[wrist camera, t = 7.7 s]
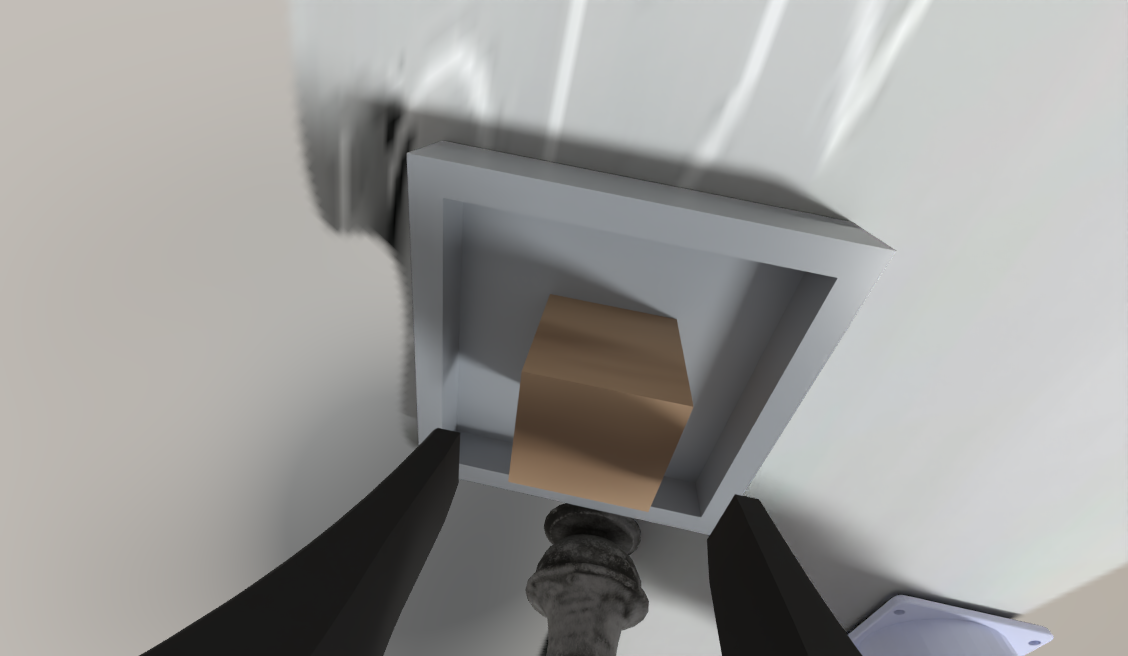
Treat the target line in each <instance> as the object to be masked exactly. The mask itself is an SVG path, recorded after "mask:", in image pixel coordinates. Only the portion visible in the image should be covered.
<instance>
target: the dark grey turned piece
mask: <svg viewBox="0 0 1128 656" xmlns="http://www.w3.org/2000/svg"><path fill="white" fill-rule="evenodd" d="M544 529H545V534H546V536H547V538H548V539H549V541H550V542H551V543H552V544H553V545H552V546H550V548H549V549H548V550H547V551H546V552H545V554H544V555H543V557H542V559H541V560H540V562H539V563H538V566H537V570H536V572H535V573H534V574H533V575H532V577H530V579H529V580H528V582H527V587H526V594H527V598H528V601H529V602H530V603H531V605H532V606H533V608H534V609H535V610H536V611H538V612H539V613H540V614H541V615H542V616H544V617H546V618H547V619H548V634H549V642H548V649H547V656H616V652H617V647H618V642H619V638H620V634H621V630H625V629H628V628H631V627H633V626H635V625H637V624H638V623H639V622H641V621H642V620H643V619H644V618H645V616H646V614H647V613H648V606H649V601H648V598H647V596H646V594H645V592H644V591H643V589H642V588H641V580H640V578H639V575H638V573H637V570H636V568H635V565H634V563H633V561H632V559H631V558H630V557H629V556H628V555H630V554H631V553H632V552H633V551H635V550H636V549H637V547H638V545H639V543H640V529H639V527H638V524H637V523H636V522H635V521H634V519H633V518H631V517H626V516H622V515H617V514H613V513H608V512H604V511H599V510H595V509H591V508H586V507H582V506H577V505H573V504H568V503H565V504H562V505H559V506H558V507H556V508H555V509H553V510H552V511H551V512H550V513H549V514H548V516H547V517H546V520H545V524H544Z"/></svg>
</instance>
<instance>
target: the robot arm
mask: <svg viewBox="0 0 1128 656" xmlns="http://www.w3.org/2000/svg"><path fill="white" fill-rule="evenodd" d="M459 456H460V433H459V432H455V431H450V430H446V429H441V428H436V429H434V430H433V431H432V432H431V433H430V434H429V436H428V437H427V438H426V439H425V440H424V441H423V442H422V443H421V444H420V445H419V446H418V447H417V448H416V449H415V450H414V451H413V452H412V453H411V454H410V455H409V456H408V457H407V458H406V460H404V461H403V462H402V463H401V464H400V465H399V466H398V468H396V469H395V470H394V471H393V472H392V473H391V474H390V475H389V476H388V477H387V478H386V479H385V480H383V481H382V482H381V484H379V485H378V486H377V487H376V488H375V489H374V490H373V491H372V492H371V493H370V494H368V495H367V496H366V497H365V498H364V499H363V500H361V501H360V502H359V503H358V504H357V505H356V506H354V507H353V508H352V509H351V510H350V511H349V512H347V513H346V514H345V515H344V516H343V517H342V518H341V519H339V520H338V521H337V522H336V523H335V524H333V525H332V526H331V527H330V528H328V529H327V530H326V531H325V532H323V533H322V534H321V535H320V536H318V537H317V538H316V539H314V540H313V541H312V542H311V543H310V544H308V545H307V546H305V547H304V548H303V549H301V550H300V551H299V552H298V553H296V554H295V555H293V556H292V557H291V558H289V559H288V560H287V561H285V562H284V563H283V564H281V565H280V566H278V567H277V568H276V569H274V570H272V571H271V572H270V573H268V574H267V575H265V576H264V577H263V578H261V579H260V580H258V581H257V582H255V583H254V584H253V585H251V586H250V587H248V588H247V589H245V590H244V591H242V592H241V593H239V594H238V595H237V596H235V597H233V598H232V599H230V600H229V601H227V602H226V603H224V604H223V605H221V606H219V607H218V608H216V609H215V610H213V611H211V612H210V613H208V614H207V615H205V616H203V617H202V618H200V619H199V620H197V621H196V622H194V623H192V624H191V625H189V626H187V627H186V628H185V629H183V630H181V631H180V632H178V633H176V634H175V635H173V636H172V637H170V638H169V639H167V640H165V641H163V642H162V643H160V644H158V645H157V646H155V647H153V648H152V649H150V650H148V651H147V652H145V653H143V654H141V655H140V656H383V655H384V652H385V650H386V647H387V645H388V642H389V639H390V637H391V634H392V632H393V629H394V627H395V625H396V623H397V620H398V618H399V616H400V613H401V611H402V609H403V607H404V605H405V603H406V601H407V599H408V597H409V594H410V593H411V590H412V588H413V586H414V584H415V582H416V580H417V578H418V576H419V574H420V572H421V570H422V568H423V566H424V564H425V561H426V559H427V557H428V555H429V553H430V551H431V549H432V547H433V545H434V543H435V541H436V539H437V536H438V534H439V532H440V530H441V528H442V526H443V524H444V522H445V519H446V516H447V513H448V511H449V508H450V505H451V503H452V500H453V497H454V494H455V491H456V488H457V486H458V482H459ZM707 546H708V566H709V580H710V588H711V594H712V600H713V606H714V612H715V618H716V624H717V629H718V635H719V641H720V646H721V652H722V656H1024V655H1026V654H1028V653H1030V652H1031V651H1033V650H1035V649H1037V648H1039V647H1040V646H1042V645H1044V644H1046V643H1048V642H1050V641H1051V640H1052V639H1053V637H1054V636H1053V635H1052V634H1051V632H1050V631H1049V630H1048V628H1046V627H1043V626H1039V625H1035V624H1030V623H1026V622H1022V621H1017V620H1013V619H1008V618H1004V617H999V616H995V615H991V614H986V613H982V612H977V611H973V610H968V609H964V608H959V607H955V606H951V605H946V604H942V603H937V602H933V601H928V600H924V599H919V598H915V597H911V596H906V595H898V596H894V597H893V598H891V599H890V600H889V601H888V602H887V603H885V604H884V605H883V606H882V607H881V608H879V609H878V610H877V611H876V612H875V613H873V614H872V615H871V616H870V617H869V618H867V619H866V620H865V621H864V622H863V623H861V624H860V625H859V626H858V627H857V628H855V629H854V630H853V631H852V632H851V633H849V634H848V635H847V634H846V632H845V631H844V629H843V628H842V627H841V625H840V624H839V622H838V621H837V620H836V618H835V617H834V615H833V614H832V612H831V611H830V609H829V608H828V607H827V605H826V604H825V602H824V601H823V599H822V598H821V596H820V595H819V593H818V592H817V590H816V589H815V587H814V586H813V584H812V583H811V581H810V580H809V578H808V577H807V575H806V573H805V572H804V570H803V569H802V567H801V566H800V564H799V563H798V561H797V559H796V558H795V556H794V555H793V553H792V552H791V550H790V548H789V547H788V545H787V544H786V542H785V540H784V539H783V537H782V536H781V534H780V532H779V531H778V529H777V528H776V526H775V524H774V523H773V521H772V520H771V518H770V516H769V515H768V513H767V512H766V510H765V508H764V507H763V505H762V504H761V502H760V500H759V499H755V498H750V497H746V496H741V495H737V494H735V495H734V496H733V498H732V500H731V501H730V503H729V505H728V506H727V508H726V510H725V511H724V513H723V515H722V516H721V518H720V519H719V521H718V523H717V524H716V526H715V528H714V529H713V531H712V533H711V534H710V536H709V538H708V539H707Z"/></svg>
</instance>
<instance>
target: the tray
mask: <svg viewBox="0 0 1128 656" xmlns="http://www.w3.org/2000/svg"><path fill="white" fill-rule="evenodd" d="M407 174H408V198H409V223H410V247H411V271H412V296H413V320H414V345H415V369H416V394H417V418H418V443H419V445H420V444H421V443H422V442H423V441H424V440H425V439H426V438H427V437H428V436H429V434H430V433H431V432H432V431H433V430H434V429H436V428H441V429H446V430H450V431H455V432H459V433H460V456H459V479H461V480H466V481H470V482H474V483H479V484H483V485H488V486H493V487H497V488H501V489H506V490H510V491H515V492H519V493H524V494H528V495H532V496H537V497H542V498H546V499H550V500H555V501H559V502H564V503H568V504H573V505H577V506H582V507H586V508H591V509H595V510H599V511H604V512H608V513H613V514H617V515H622V516H626V517H631V518H635V519H640V520H644V521H649V522H653V523H658V524H662V525H667V526H671V527H675V528H680V529H684V530H689V531H693V532H698V533H702V534H707V535H710V534H711V533H712V531H713V529H714V528H715V526H716V524H717V523H718V521H719V519H720V518H721V516H722V515H723V513H724V511H725V510H726V508H727V506H728V505H729V503H730V501H731V500H732V498H733V496H734V495H735V494H737V495H741V496H743V494H744V492H745V491H746V489H747V488H748V486H749V485H750V483H751V481H752V480H753V478H754V477H755V475H756V473H757V472H758V470H759V469H760V467H761V465H762V464H763V462H764V461H765V459H766V458H767V456H768V454H769V453H770V451H771V450H772V448H773V446H774V445H775V443H776V442H777V440H778V438H779V437H780V435H781V434H782V432H783V431H784V429H785V427H786V426H787V424H788V423H789V421H790V419H791V418H792V416H793V415H794V413H795V411H796V410H797V408H798V407H799V405H800V403H801V402H802V400H803V399H804V397H805V396H806V394H807V392H808V391H809V389H810V388H811V386H812V384H813V383H814V381H815V380H816V378H817V376H818V375H819V373H820V372H821V370H822V369H823V367H824V365H825V364H826V362H827V361H828V359H829V357H830V356H831V354H832V353H833V351H834V349H835V348H836V346H837V345H838V343H839V342H840V340H841V338H842V337H843V335H844V334H845V332H846V330H847V329H848V327H849V326H850V324H851V322H852V321H853V319H854V318H855V316H856V315H857V313H858V311H859V310H860V308H861V307H862V305H863V303H864V302H865V300H866V299H867V297H868V295H869V294H870V292H871V291H872V289H873V288H874V286H875V284H876V283H877V281H878V280H879V278H880V276H881V275H882V273H883V272H884V270H885V268H886V267H887V265H888V264H889V262H890V261H891V259H892V257H893V256H894V254H895V253H896V250H894V249H893V248H891V247H890V246H888V245H887V244H885V243H884V242H882V241H881V240H879V239H878V238H876V237H875V236H873V235H871V234H870V233H868V232H867V231H865V230H864V229H862V228H861V227H859V226H858V225H856V224H855V223H853V222H850V221H845V220H840V219H835V218H830V217H825V216H820V215H815V214H810V213H805V212H800V211H795V210H790V209H785V208H780V207H775V206H770V205H765V204H760V203H755V202H750V201H745V200H740V199H735V198H729V197H724V196H719V195H714V194H709V193H704V192H699V191H694V190H689V189H684V188H679V187H674V186H669V185H664V184H659V183H654V182H649V181H644V180H639V179H634V178H629V177H624V176H619V175H614V174H609V173H604V172H599V171H593V170H588V169H583V168H578V167H573V166H568V165H563V164H558V163H553V162H548V161H543V160H538V159H533V158H528V157H523V156H518V155H513V154H508V153H503V152H498V151H493V150H488V149H483V148H478V147H473V146H468V145H463V144H457V143H452V142H447V141H440V142H437V143H434V144H431V145H428V146H425V147H422V148H420V149H417V150H414V151H411V152H408V153H407ZM550 294H553V295H558V296H563V297H568V298H573V299H578V300H583V301H588V302H593V303H598V304H603V305H608V306H613V307H618V308H623V309H628V310H633V311H638V312H643V313H648V314H653V315H658V316H663V317H668V318H673V319H677V323H678V328H679V333H680V339H681V344H682V349H683V354H684V359H685V365H686V370H687V375H688V380H689V385H690V390H691V396H692V401H693V406H694V407H693V410H692V412H691V414H690V417H689V419H688V421H687V423H686V426H685V428H684V430H683V433H682V435H681V437H680V440H679V442H678V444H677V447H676V449H675V451H674V454H673V456H672V458H671V461H670V463H669V465H668V468H667V470H666V472H665V474H664V477H663V479H662V481H661V484H660V486H659V488H658V491H657V493H656V495H655V498H654V500H653V502H652V505H651V507H650V509H649V512H645V511H641V510H636V509H631V508H627V507H622V506H617V505H613V504H608V503H604V502H599V501H594V500H590V499H585V498H581V497H576V496H571V495H567V494H562V493H558V492H553V491H548V490H544V489H539V488H534V487H530V486H525V485H521V484H516V483H511V482H508V479H509V471H510V462H511V454H512V446H513V438H514V430H515V422H516V413H517V405H518V397H519V389H520V381H521V373H522V369H523V366H524V364H525V361H526V358H527V355H528V353H529V350H530V347H531V344H532V342H533V339H534V336H535V334H536V331H537V328H538V325H539V323H540V320H541V317H542V314H543V312H544V309H545V306H546V304H547V301H548V298H549V295H550Z"/></svg>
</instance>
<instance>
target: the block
mask: <svg viewBox="0 0 1128 656" xmlns="http://www.w3.org/2000/svg"><path fill="white" fill-rule="evenodd" d="M693 407H694V406H693V401H692V396H691V390H690V385H689V380H688V375H687V370H686V365H685V359H684V354H683V349H682V344H681V339H680V333H679V328H678V323H677V319H673V318H668V317H663V316H658V315H653V314H648V313H643V312H638V311H633V310H628V309H623V308H618V307H613V306H608V305H603V304H598V303H593V302H588V301H583V300H578V299H573V298H568V297H563V296H558V295H553V294H550V295H549V298H548V301H547V304H546V306H545V309H544V312H543V314H542V317H541V320H540V323H539V325H538V328H537V331H536V334H535V336H534V339H533V342H532V344H531V347H530V350H529V353H528V355H527V358H526V361H525V364H524V366H523V369H522V373H521V381H520V389H519V397H518V405H517V413H516V422H515V430H514V438H513V446H512V454H511V462H510V471H509V479H508V482H511V483H516V484H521V485H525V486H530V487H534V488H539V489H544V490H548V491H553V492H558V493H562V494H567V495H571V496H576V497H581V498H585V499H590V500H594V501H599V502H604V503H608V504H613V505H617V506H622V507H627V508H631V509H636V510H641V511H645V512H649V509H650V507H651V505H652V502H653V500H654V498H655V495H656V493H657V491H658V488H659V486H660V484H661V481H662V479H663V477H664V474H665V472H666V470H667V468H668V465H669V463H670V461H671V458H672V456H673V454H674V451H675V449H676V447H677V444H678V442H679V440H680V437H681V435H682V433H683V430H684V428H685V426H686V423H687V421H688V419H689V417H690V414H691V412H692V410H693Z"/></svg>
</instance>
